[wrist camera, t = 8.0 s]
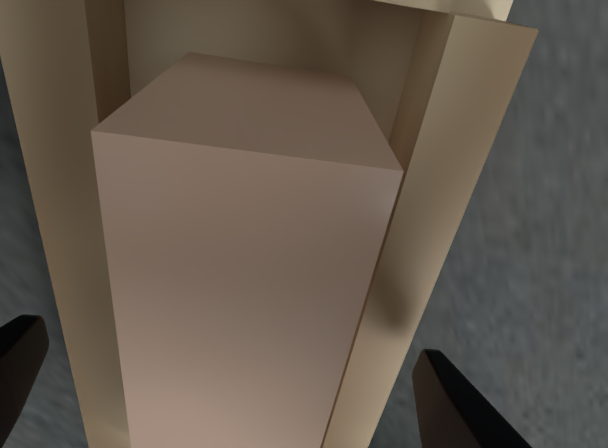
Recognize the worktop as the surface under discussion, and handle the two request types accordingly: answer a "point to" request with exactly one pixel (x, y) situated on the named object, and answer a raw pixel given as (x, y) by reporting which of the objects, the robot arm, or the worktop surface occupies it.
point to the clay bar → (239, 248)
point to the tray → (278, 51)
